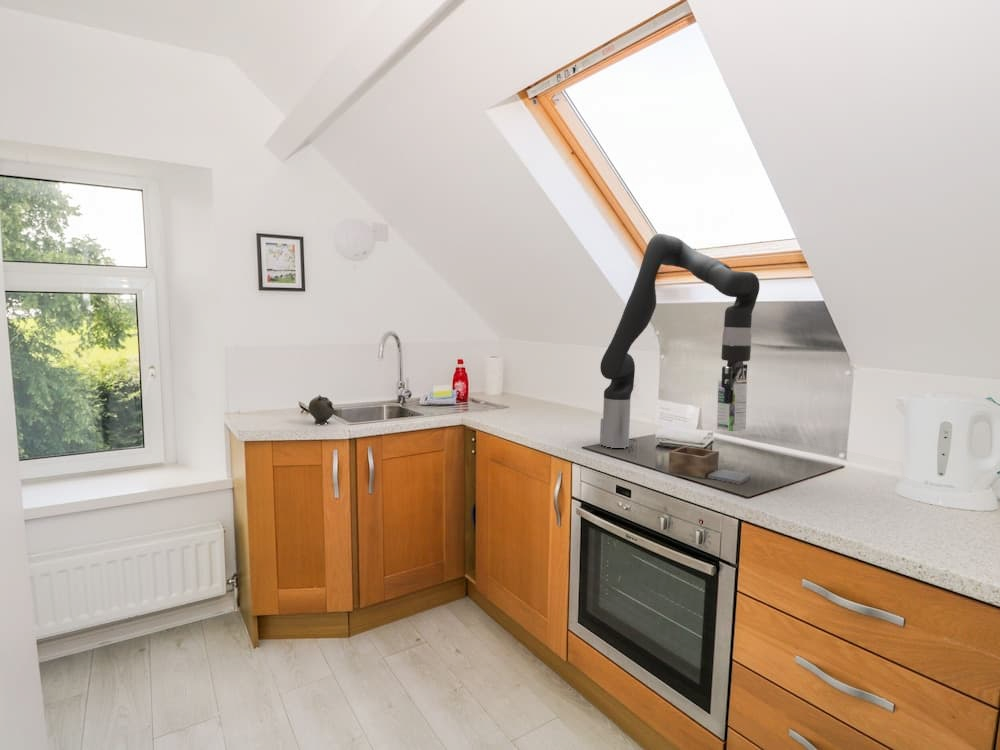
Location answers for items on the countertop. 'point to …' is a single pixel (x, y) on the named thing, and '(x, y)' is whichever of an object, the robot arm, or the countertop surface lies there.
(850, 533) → the countertop surface
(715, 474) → the slate mat
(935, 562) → the countertop surface
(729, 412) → the syrup box
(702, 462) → the walnut sleeve
